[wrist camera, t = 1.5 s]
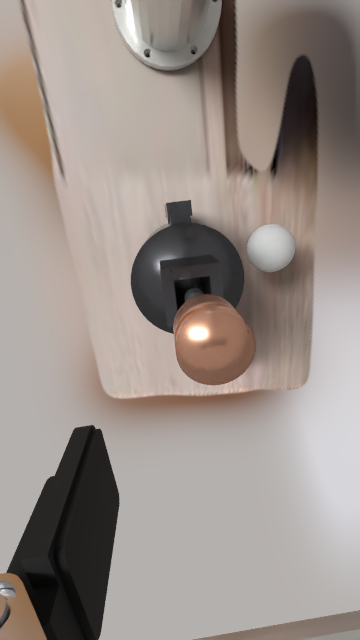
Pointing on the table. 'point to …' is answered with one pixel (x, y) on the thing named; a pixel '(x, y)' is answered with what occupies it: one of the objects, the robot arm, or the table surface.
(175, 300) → the airpot
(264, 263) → the light bulb
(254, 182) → the table surface
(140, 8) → the robot arm
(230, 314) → the plunger
